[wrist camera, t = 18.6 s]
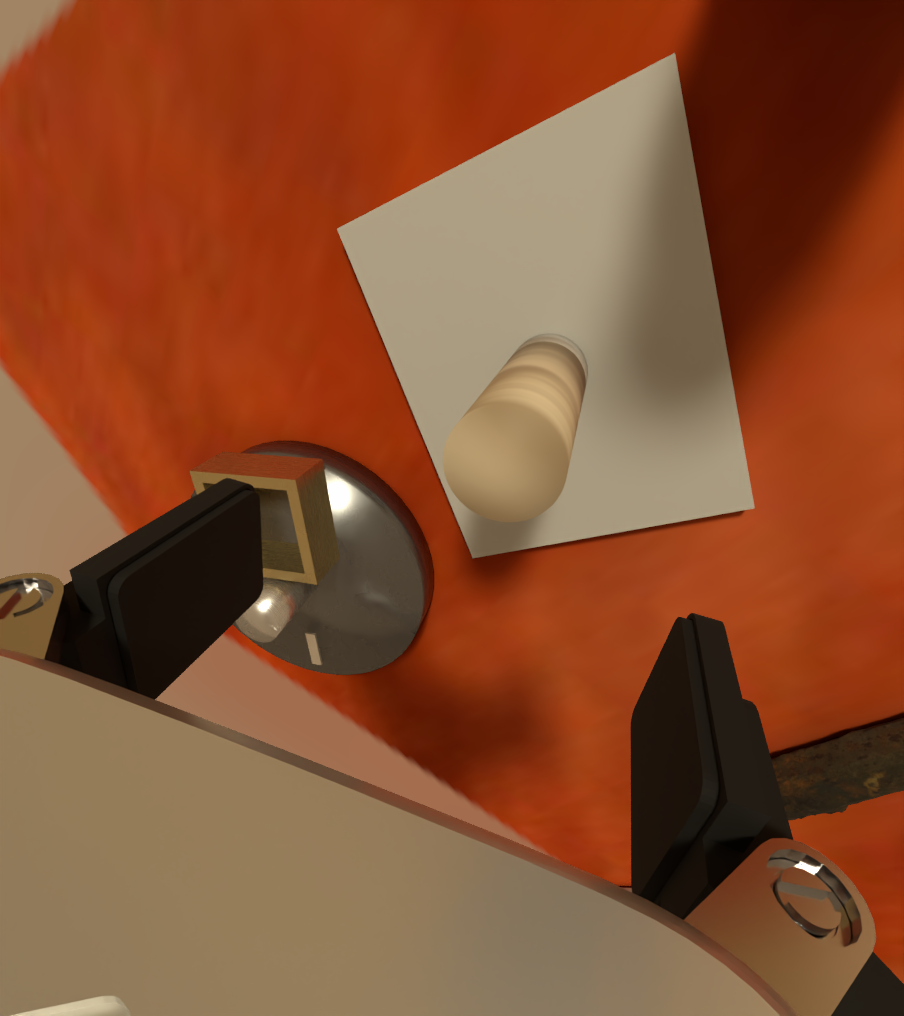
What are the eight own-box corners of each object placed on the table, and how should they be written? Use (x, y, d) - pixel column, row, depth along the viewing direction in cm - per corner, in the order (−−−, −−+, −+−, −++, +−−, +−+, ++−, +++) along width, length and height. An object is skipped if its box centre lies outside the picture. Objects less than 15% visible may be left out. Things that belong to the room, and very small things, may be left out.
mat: (750, 499, 28) (754, 508, 27) (476, 550, 34) (472, 558, 33) (673, 59, 21) (674, 52, 20) (345, 228, 27) (336, 228, 26)
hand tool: (743, 793, 38) (757, 859, 34) (709, 758, 37) (719, 821, 33) (1078, 702, 28) (1151, 780, 24) (1040, 653, 28) (1109, 725, 24)
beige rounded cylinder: (552, 426, 28) (513, 543, 18) (494, 379, 28) (420, 471, 18) (605, 368, 26) (595, 463, 16) (542, 316, 26) (491, 378, 15)
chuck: (441, 669, 40) (406, 753, 34) (241, 632, 45) (178, 700, 39) (423, 449, 32) (373, 505, 25) (180, 433, 36) (86, 478, 30)
